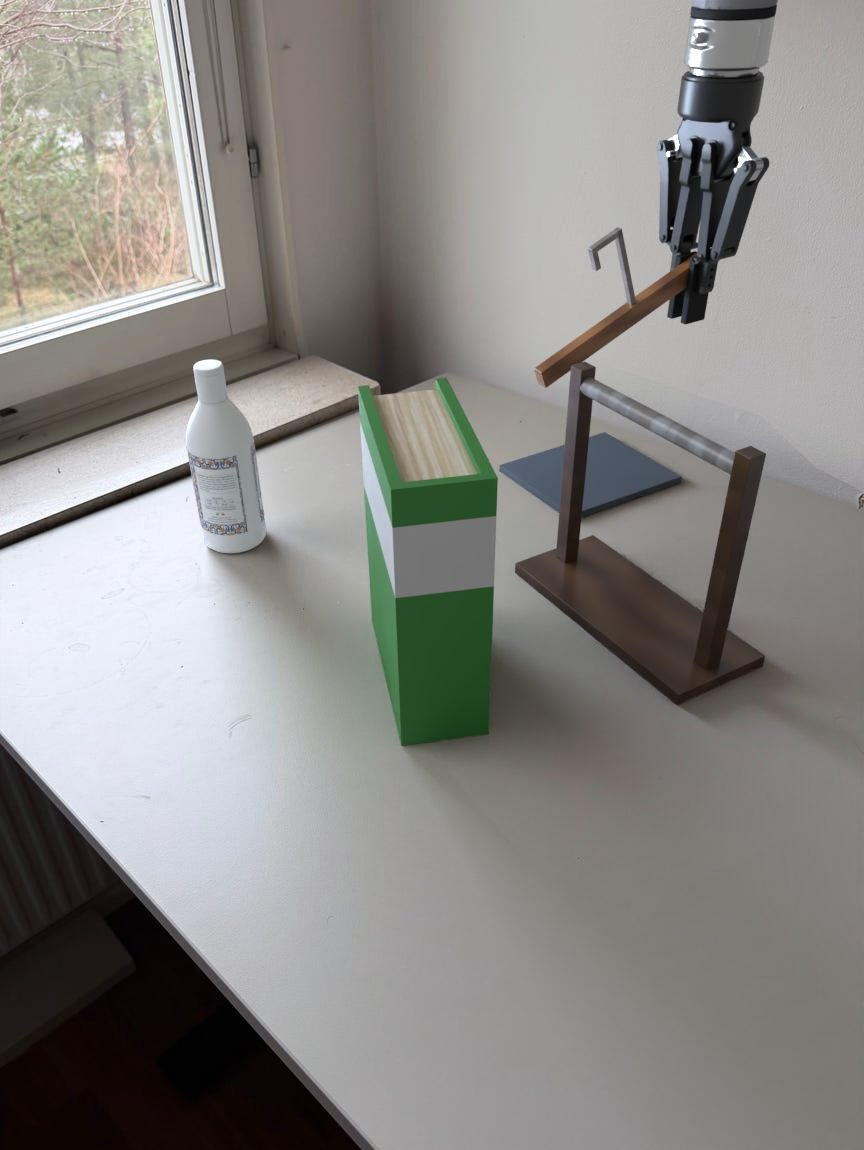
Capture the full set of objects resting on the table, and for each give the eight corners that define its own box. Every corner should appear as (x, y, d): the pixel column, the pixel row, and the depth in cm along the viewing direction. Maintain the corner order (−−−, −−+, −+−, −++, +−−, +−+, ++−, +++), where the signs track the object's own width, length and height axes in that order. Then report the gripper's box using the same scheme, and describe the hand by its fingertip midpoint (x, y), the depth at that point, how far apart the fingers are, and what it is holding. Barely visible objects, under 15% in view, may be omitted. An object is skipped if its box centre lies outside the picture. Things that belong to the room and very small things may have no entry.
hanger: (698, 269, 104) (685, 176, 96) (707, 272, 103) (695, 179, 95) (537, 383, 101) (512, 297, 94) (546, 388, 100) (520, 301, 93)
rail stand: (592, 544, 103) (613, 347, 90) (762, 666, 86) (819, 445, 73) (514, 572, 100) (524, 371, 86) (676, 705, 83) (720, 480, 69)
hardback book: (371, 620, 94) (357, 386, 79) (446, 611, 95) (446, 377, 80) (401, 745, 80) (390, 489, 66) (488, 733, 81) (497, 477, 66)
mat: (604, 437, 123) (604, 431, 122) (681, 482, 113) (682, 476, 112) (498, 470, 117) (499, 464, 116) (570, 521, 107) (571, 515, 107)
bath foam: (236, 515, 111) (209, 346, 99) (279, 534, 107) (257, 360, 95) (191, 542, 107) (157, 368, 95) (234, 562, 103) (206, 384, 91)
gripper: (641, 66, 95) (615, 306, 109) (752, 83, 85) (707, 346, 99) (699, 57, 98) (666, 293, 112) (813, 74, 87) (760, 330, 102)
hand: (685, 317), depth 106 cm, fingers closed on hanger
